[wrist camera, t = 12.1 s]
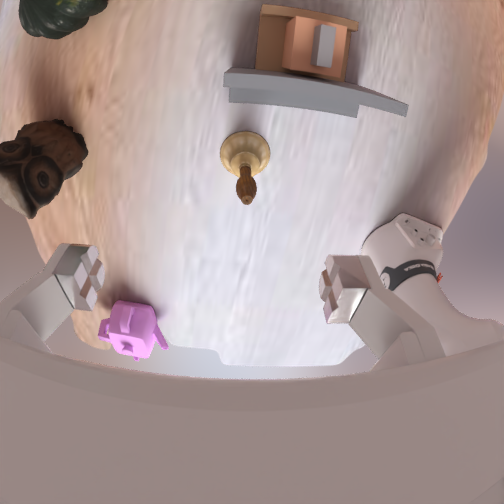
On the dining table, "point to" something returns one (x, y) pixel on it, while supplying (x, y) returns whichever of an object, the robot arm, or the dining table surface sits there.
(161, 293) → the dining table surface
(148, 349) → the teakettle
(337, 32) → the tall peach box
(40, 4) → the squash
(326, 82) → the board
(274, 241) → the dining table surface
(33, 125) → the owl
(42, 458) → the robot arm
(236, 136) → the hand bell
